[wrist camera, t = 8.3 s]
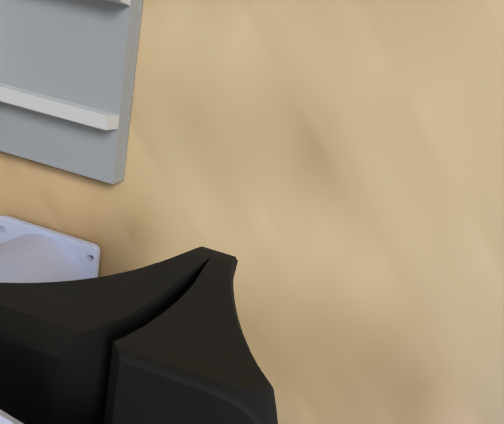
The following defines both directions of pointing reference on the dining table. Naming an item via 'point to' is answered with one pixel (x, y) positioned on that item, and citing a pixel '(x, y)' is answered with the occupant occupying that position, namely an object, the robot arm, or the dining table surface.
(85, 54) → the track
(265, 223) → the dining table surface
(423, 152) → the dining table surface
